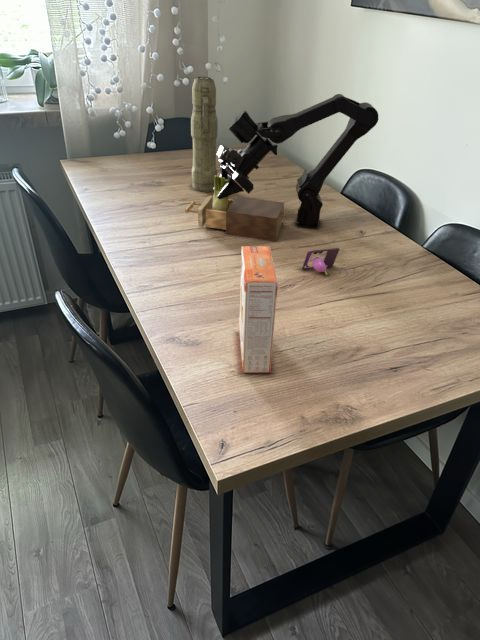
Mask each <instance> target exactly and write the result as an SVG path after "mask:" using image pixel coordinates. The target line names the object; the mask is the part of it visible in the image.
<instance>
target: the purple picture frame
mask: <svg viewBox="0 0 480 640" xmlns="http://www.w3.org/2000/svg"><path fill="white" fill-rule="evenodd" d="M324 252H326V253H325V256H324V258H322V257H319V256H317V257H313V258H312V259H311V260H310V258H311V257H312V255H317V254H318V255H320V254H321V255H322V254H323V253H324ZM339 252H340V248H339V247H334V248H325V249H324V248H323V249H313V250H307V252H306V256H305V259H304V261H303V265H302V268H301V269H302V270H303V271H305V270H306V271H307V270H315V271H316V272H319V273H324V274H325V276H328V272H327V268H332V267H333V266H334V264H335V262H336V259H337V257H338V255H339ZM309 262H311V263H312V266H310V267H309V265H308V264H309Z"/></svg>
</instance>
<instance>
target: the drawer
mask: <svg viewBox="0 0 480 640" xmlns="http://www.w3.org/2000/svg"><path fill="white" fill-rule="evenodd" d="M233 201H234V199H231V198H229V207H230V205H231V204H232V202H233ZM212 204H213V195H208V196H207V197H206V199H205V200H204V201H203V202H202V203H201V202H196V201H195V200H193V201H191V203H190V204H189V205H188V206H187V207H186V208H185V210H184V211H185V213H187V214H188V213H193V214H197V227H198V228H203V227H204V226H205V227H206V228H212V229H218V230H225V231H226V212H225V211H217V210H212ZM195 206H199V207H198V208H197V210H196V209H193V208H194V207H195Z"/></svg>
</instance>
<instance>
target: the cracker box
mask: <svg viewBox="0 0 480 640" xmlns="http://www.w3.org/2000/svg"><path fill="white" fill-rule="evenodd" d="M240 255H241V256H240V287H239V290H240V291H239V293H240V294H239V295H240V296H239V300H240V301H239V327H238V333H239V345H240V346H239V347H240V359H241V368H242V374H270V373H271V371H272V359H273V358H272V357H273V344H274V333H275V331H274V330H275V320H276V309H277V308H276V307H277V298H278V287H279V286H278V285H279V282H278V277H277V273H276V269H275V268H276V267H275V264H274V260H273V256H272V251H271V246H255V245H253V246H252V245H245V246H241V253H240Z"/></svg>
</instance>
